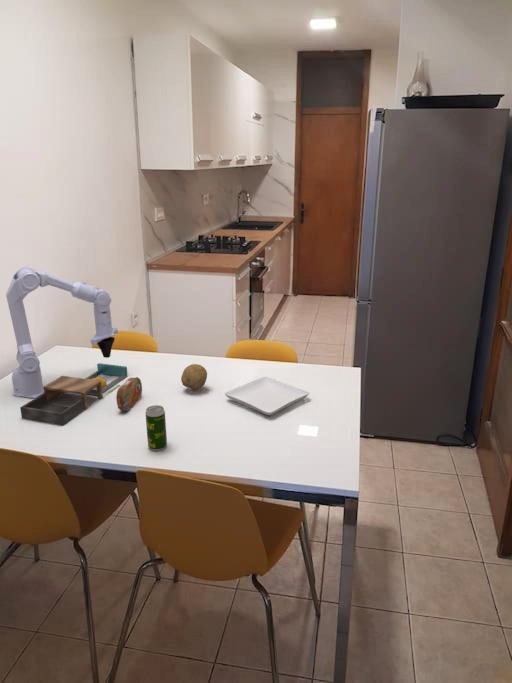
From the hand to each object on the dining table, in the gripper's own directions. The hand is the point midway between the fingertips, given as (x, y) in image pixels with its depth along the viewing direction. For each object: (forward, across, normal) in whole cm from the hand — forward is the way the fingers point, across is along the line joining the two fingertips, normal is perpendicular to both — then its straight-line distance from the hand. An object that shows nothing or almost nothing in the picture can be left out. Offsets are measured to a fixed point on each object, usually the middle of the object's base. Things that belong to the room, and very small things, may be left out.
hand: (106, 356), depth 198 cm
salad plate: (+9, -1, -63) cm, 64 cm away
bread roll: (+9, -10, 0) cm, 14 cm away
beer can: (+9, -40, -42) cm, 59 cm away
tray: (+8, -21, 0) cm, 23 cm away
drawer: (+8, -6, 0) cm, 10 cm away
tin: (+9, -18, -20) cm, 28 cm away
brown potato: (+9, -1, -36) cm, 37 cm away
